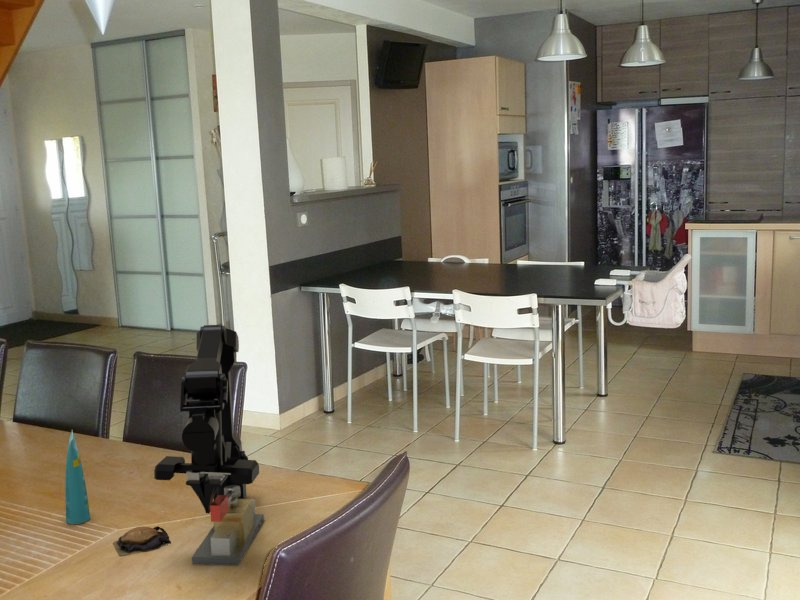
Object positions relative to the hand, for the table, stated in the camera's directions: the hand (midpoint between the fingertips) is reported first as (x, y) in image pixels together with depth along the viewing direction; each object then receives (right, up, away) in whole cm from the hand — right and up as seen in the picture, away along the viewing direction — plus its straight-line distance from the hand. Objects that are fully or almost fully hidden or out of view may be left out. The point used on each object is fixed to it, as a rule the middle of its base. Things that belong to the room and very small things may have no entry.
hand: (208, 512), depth 156 cm
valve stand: (+3, -8, +9) cm, 13 cm away
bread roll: (-15, -9, +9) cm, 20 cm away
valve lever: (+3, 0, +3) cm, 4 cm away
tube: (-33, -7, +21) cm, 40 cm away
